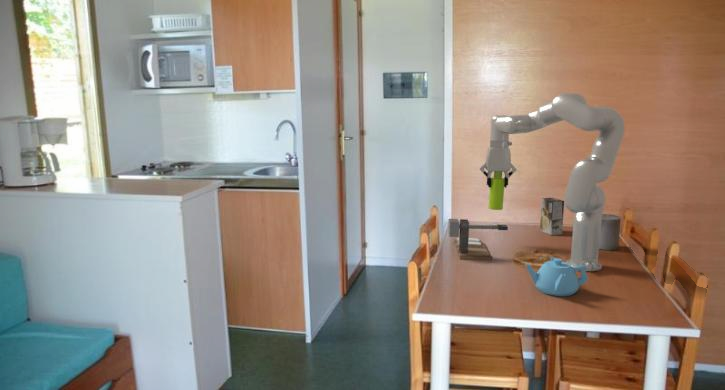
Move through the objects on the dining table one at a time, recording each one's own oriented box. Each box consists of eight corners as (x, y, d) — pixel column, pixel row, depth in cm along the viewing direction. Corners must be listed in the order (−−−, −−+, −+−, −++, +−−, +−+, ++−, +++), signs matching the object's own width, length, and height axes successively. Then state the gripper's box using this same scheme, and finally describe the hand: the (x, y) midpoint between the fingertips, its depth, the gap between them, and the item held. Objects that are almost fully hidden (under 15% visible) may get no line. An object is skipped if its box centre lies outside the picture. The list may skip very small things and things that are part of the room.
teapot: (560, 302, 169) (563, 269, 167) (522, 288, 182) (524, 257, 180) (589, 292, 178) (592, 261, 176) (551, 279, 190) (553, 250, 188)
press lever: (507, 237, 212) (508, 223, 211) (449, 236, 213) (450, 222, 212) (504, 234, 218) (505, 219, 217) (448, 233, 219) (448, 218, 218)
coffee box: (562, 234, 251) (565, 200, 248) (551, 235, 249) (553, 201, 246) (550, 229, 259) (552, 197, 256) (539, 230, 258) (541, 197, 255)
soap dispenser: (506, 210, 229) (510, 163, 225) (490, 209, 229) (493, 163, 225) (503, 207, 234) (506, 162, 231) (487, 207, 235) (490, 161, 231)
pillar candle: (613, 244, 234) (616, 211, 231) (621, 251, 224) (624, 216, 222) (590, 244, 235) (592, 210, 232) (597, 250, 225) (600, 215, 223)
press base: (490, 259, 212) (492, 224, 209) (459, 259, 213) (461, 223, 210) (480, 243, 236) (482, 210, 233) (453, 242, 236) (454, 210, 234)
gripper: (518, 144, 230) (515, 185, 233) (477, 143, 231) (475, 185, 234) (521, 145, 222) (519, 188, 226) (479, 145, 224) (478, 188, 227)
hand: (497, 186), depth 230 cm, fingers closed on soap dispenser, 6 cm apart
